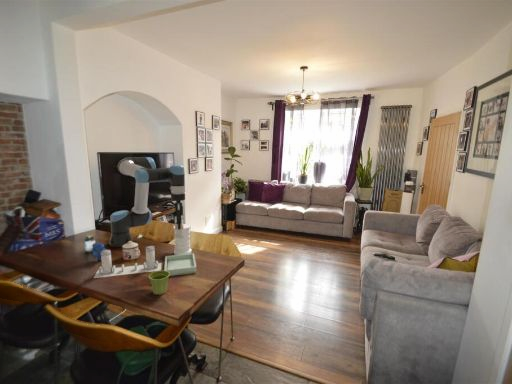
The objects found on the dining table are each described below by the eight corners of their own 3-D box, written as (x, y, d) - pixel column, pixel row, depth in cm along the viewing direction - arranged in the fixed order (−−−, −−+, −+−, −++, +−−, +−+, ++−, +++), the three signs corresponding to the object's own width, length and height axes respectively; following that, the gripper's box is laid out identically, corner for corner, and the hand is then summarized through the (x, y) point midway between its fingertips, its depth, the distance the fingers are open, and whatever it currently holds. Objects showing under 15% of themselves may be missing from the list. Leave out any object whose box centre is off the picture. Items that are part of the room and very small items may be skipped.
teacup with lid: (119, 260, 157) (118, 242, 155) (131, 255, 165) (130, 238, 164) (134, 264, 153) (133, 245, 151) (145, 258, 161) (144, 240, 159)
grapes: (86, 262, 154) (84, 243, 152) (96, 258, 160) (95, 239, 158) (101, 265, 150) (99, 246, 148) (111, 260, 157) (109, 242, 155)
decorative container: (188, 247, 180) (187, 223, 177) (194, 253, 170) (193, 227, 167) (171, 250, 174) (170, 225, 171) (176, 257, 164) (175, 230, 161)
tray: (165, 261, 157) (165, 256, 157) (194, 258, 162) (193, 253, 162) (164, 276, 139) (164, 270, 138) (196, 272, 144) (196, 266, 143)
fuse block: (98, 272, 142) (96, 249, 140) (161, 265, 152) (160, 243, 150) (93, 280, 133) (91, 256, 131) (161, 272, 143) (159, 249, 140)
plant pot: (163, 284, 131) (162, 268, 129) (174, 291, 125) (173, 274, 123) (145, 292, 123) (144, 275, 122) (156, 299, 117) (155, 281, 116)
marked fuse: (175, 235, 149) (174, 215, 147) (183, 235, 150) (182, 215, 148) (175, 238, 145) (174, 217, 143) (183, 237, 146) (183, 217, 144)
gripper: (171, 190, 151) (172, 229, 154) (170, 196, 134) (172, 238, 138) (184, 190, 153) (185, 228, 157) (185, 195, 136) (186, 237, 140)
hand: (179, 232), depth 147 cm, fingers closed on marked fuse, 5 cm apart
